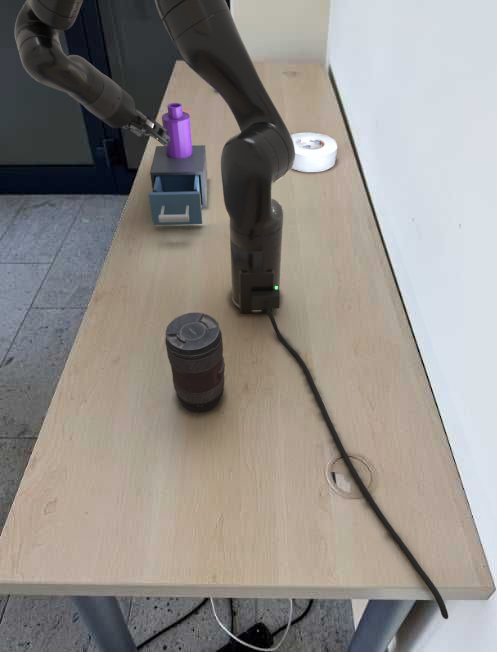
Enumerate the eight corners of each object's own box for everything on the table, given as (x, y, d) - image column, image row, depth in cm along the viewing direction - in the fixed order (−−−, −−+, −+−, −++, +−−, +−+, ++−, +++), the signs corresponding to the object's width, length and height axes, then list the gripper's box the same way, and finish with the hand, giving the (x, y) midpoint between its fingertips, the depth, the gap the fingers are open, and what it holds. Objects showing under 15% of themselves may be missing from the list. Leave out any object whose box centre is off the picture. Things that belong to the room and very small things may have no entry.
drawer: (201, 238, 109) (198, 207, 104) (150, 239, 109) (145, 208, 104) (204, 195, 123) (202, 166, 118) (159, 196, 123) (154, 167, 118)
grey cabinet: (206, 207, 121) (203, 171, 114) (155, 208, 120) (149, 172, 114) (207, 179, 131) (205, 145, 124) (160, 180, 131) (156, 145, 124)
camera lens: (202, 369, 82) (195, 302, 72) (235, 395, 78) (233, 329, 68) (164, 396, 78) (151, 330, 68) (198, 425, 74) (190, 360, 64)
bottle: (191, 158, 119) (187, 110, 111) (165, 159, 119) (159, 110, 111) (193, 147, 123) (189, 100, 115) (167, 147, 123) (161, 100, 115)
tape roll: (339, 152, 143) (342, 135, 139) (329, 176, 132) (332, 158, 129) (289, 146, 146) (290, 129, 143) (275, 168, 136) (276, 150, 132)
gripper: (138, 89, 94) (183, 129, 109) (89, 75, 100) (138, 115, 115) (123, 125, 95) (170, 160, 109) (75, 109, 101) (126, 144, 115)
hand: (154, 137), depth 112 cm, fingers open, 8 cm apart
